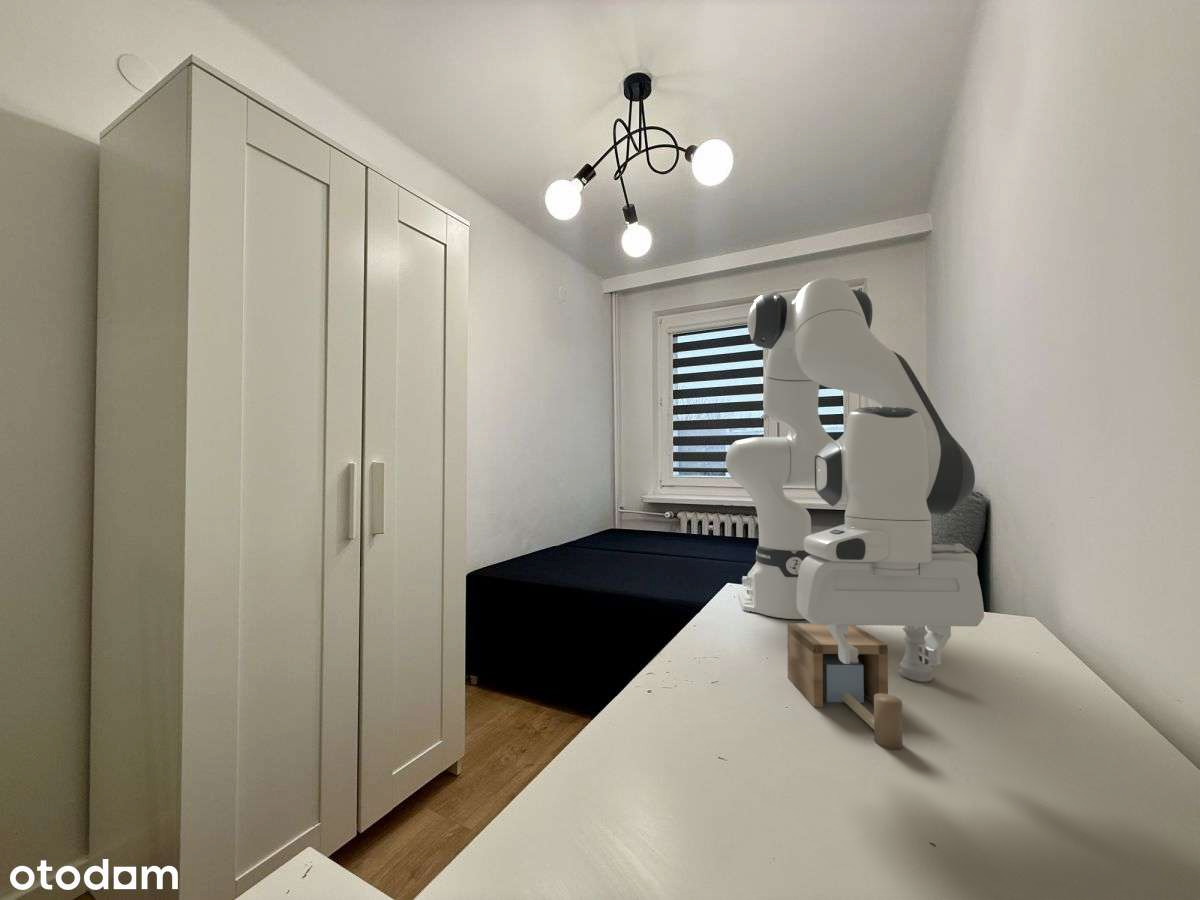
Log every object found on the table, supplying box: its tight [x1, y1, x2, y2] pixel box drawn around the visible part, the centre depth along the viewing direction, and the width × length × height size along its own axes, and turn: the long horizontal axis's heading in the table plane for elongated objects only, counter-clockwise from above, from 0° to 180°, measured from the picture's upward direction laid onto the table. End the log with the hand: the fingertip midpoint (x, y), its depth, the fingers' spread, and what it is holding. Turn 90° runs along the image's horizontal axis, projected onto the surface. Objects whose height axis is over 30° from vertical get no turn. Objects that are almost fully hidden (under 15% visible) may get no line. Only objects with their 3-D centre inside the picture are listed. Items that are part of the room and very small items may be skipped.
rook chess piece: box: [898, 626, 934, 683], centre depth 76 cm, size 4×4×8 cm
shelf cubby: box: [786, 622, 889, 708], centre depth 71 cm, size 9×10×8 cm
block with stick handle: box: [823, 654, 903, 751], centre depth 64 cm, size 16×5×5 cm, turn 0°
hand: (889, 662), depth 57 cm, fingers open, 8 cm apart
